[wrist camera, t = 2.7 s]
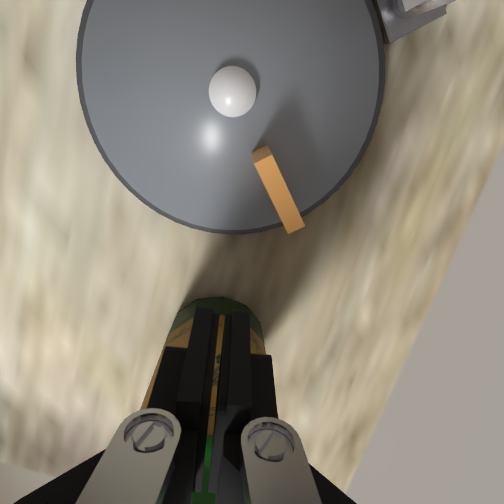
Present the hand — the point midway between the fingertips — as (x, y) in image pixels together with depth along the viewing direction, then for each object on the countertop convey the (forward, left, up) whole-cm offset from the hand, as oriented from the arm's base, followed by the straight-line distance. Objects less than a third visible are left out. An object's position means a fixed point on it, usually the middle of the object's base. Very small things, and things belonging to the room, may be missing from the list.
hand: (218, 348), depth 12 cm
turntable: (-6, +3, -19) cm, 20 cm away
